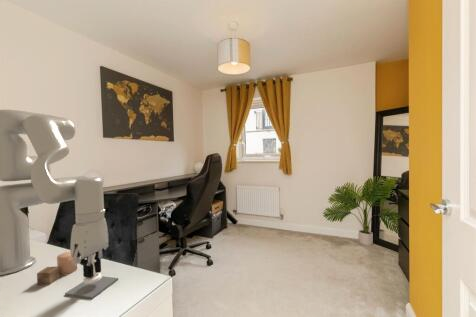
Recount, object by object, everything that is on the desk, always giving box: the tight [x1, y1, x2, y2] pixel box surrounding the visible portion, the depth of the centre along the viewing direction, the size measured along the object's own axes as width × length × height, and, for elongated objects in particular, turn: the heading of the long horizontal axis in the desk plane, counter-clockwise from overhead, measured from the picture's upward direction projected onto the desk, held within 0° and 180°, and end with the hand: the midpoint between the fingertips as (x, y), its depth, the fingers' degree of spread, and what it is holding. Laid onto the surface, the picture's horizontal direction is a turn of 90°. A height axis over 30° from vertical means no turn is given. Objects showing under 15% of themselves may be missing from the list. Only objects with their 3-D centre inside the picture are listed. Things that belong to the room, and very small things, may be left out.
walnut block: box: [36, 266, 60, 286], centre depth 74 cm, size 4×4×4 cm
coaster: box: [64, 275, 119, 300], centre depth 70 cm, size 10×10×1 cm
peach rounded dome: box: [56, 251, 78, 276], centre depth 80 cm, size 6×6×6 cm
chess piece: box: [82, 253, 103, 283], centre depth 70 cm, size 5×5×10 cm
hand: (92, 273), depth 70 cm, fingers closed on chess piece
